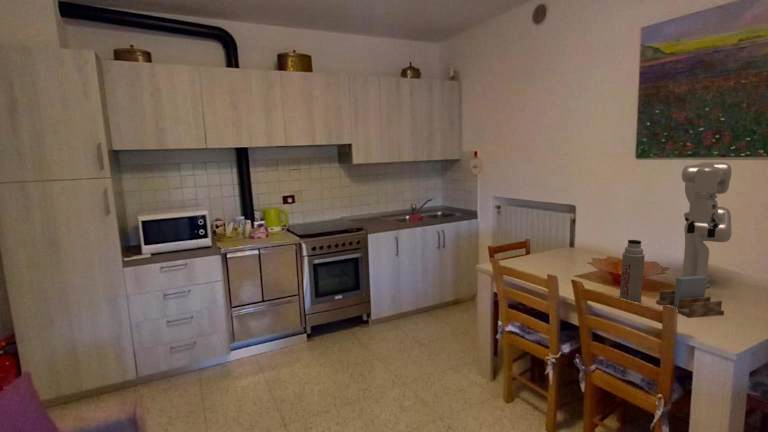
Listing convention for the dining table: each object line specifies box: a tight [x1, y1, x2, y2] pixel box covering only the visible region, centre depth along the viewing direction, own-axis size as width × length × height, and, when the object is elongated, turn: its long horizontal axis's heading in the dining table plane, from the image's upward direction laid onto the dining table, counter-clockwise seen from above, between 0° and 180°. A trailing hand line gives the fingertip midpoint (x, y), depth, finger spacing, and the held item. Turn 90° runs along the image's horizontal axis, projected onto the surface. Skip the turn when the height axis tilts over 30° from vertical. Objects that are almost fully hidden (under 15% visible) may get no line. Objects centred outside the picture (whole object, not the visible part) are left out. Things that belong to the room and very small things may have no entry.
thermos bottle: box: [619, 239, 645, 304], centre depth 174 cm, size 8×8×28 cm
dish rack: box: [655, 289, 725, 319], centre depth 169 cm, size 16×16×6 cm
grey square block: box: [674, 276, 707, 307], centre depth 169 cm, size 12×2×12 cm, turn 100°
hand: (700, 235), depth 178 cm, fingers open, 9 cm apart
